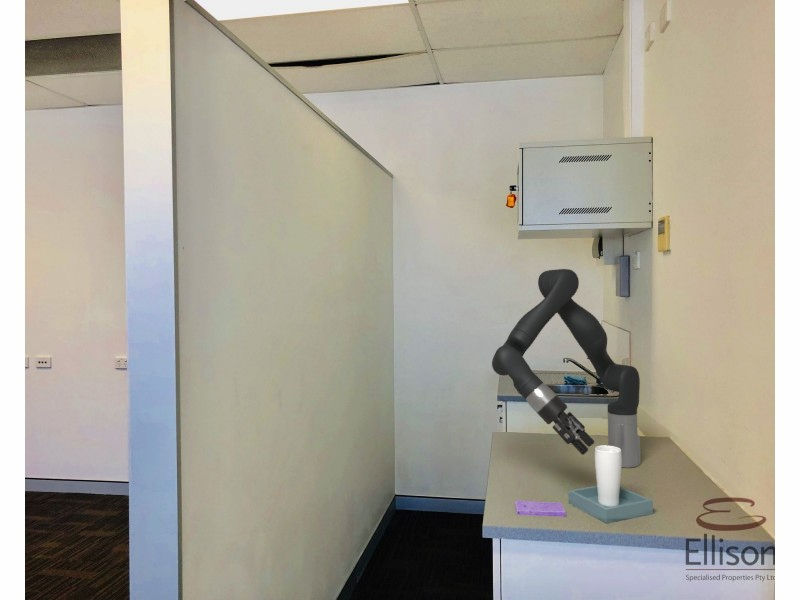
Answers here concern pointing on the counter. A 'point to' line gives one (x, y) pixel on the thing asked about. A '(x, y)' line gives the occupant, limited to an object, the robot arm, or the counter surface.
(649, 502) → the tray
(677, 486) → the counter surface
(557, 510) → the sponges
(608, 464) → the white paper cup
